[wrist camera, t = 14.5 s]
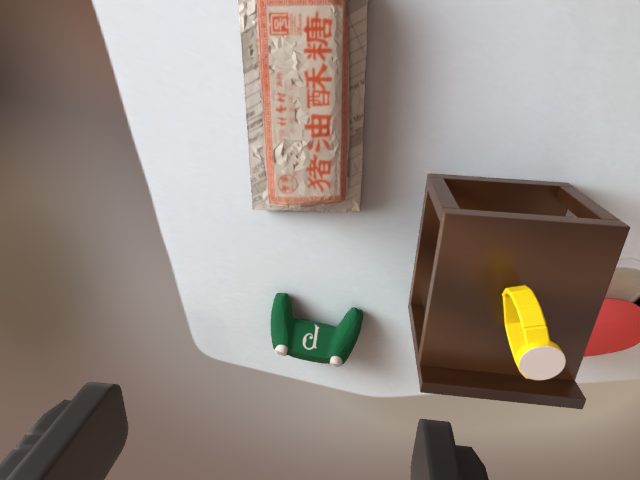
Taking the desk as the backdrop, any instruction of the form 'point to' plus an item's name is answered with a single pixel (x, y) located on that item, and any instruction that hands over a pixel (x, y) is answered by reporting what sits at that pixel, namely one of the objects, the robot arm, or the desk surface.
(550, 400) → the box
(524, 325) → the watch
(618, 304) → the red kidney bean
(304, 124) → the packaged product
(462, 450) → the robot arm
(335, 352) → the gaming controller
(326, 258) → the desk surface
